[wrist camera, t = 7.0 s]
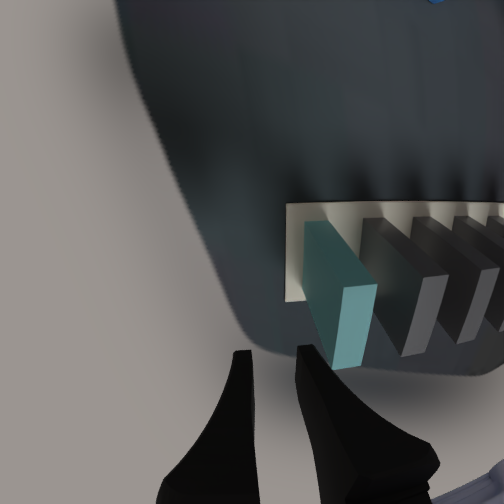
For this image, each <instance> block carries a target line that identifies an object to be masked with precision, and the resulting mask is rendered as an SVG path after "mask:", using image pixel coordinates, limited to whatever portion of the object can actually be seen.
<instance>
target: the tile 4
mask: <svg viewBox="0 0 504 504" xmlns="http://www.w3.org/2000/svg"><path fill="white" fill-rule="evenodd" d="M452 232H454V233H455V234H457V235H458V236H459V237H461V238H462V239H464V240H465V241H466V242H468V243H469V244H470V245H472V246H473V247H474V248H476V249H477V250H478V251H480V252H481V253H482V254H484V255H485V256H486V257H487V258H489V259H490V260H491V261H493V262H494V263H495V264H496V265H498V266H499V267H500V270H499V273H498V276H497V280H496V283H495V286H494V289H493V292H492V295H491V298H490V300H489V303H488V306H487V309H486V312H485V314H484V317H485V318H486V319H487V320H488V321H489V322H490V323H491V324H492V325H493V327H494V328H495V329H496V330H497V331H498V332H500V331H503V330H504V238H502V237H501V236H499V235H498V234H496V233H495V232H493V231H492V230H490V229H489V228H487V227H486V226H484V225H482V224H481V223H479V222H478V221H476V220H474V219H473V218H471V217H470V216H454V221H453V226H452Z"/></svg>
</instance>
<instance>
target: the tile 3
mask: <svg viewBox="0 0 504 504" xmlns="http://www.w3.org/2000/svg"><path fill="white" fill-rule="evenodd" d="M410 240H411V241H413V242H414V243H415V244H416V245H417V246H418V247H419V248H421V249H422V250H423V251H424V252H425V253H426V254H427V255H428V256H429V257H431V258H432V259H433V260H434V261H435V262H436V263H437V264H438V265H439V266H440V267H441V268H443V269H444V270H445V271H446V272H447V273H448V274H449V277H448V280H447V284H446V288H445V291H444V295H443V298H442V302H441V305H440V308H439V312H438V315H437V318H436V319H437V321H438V322H439V323H440V324H441V326H442V327H443V328H444V329H445V331H446V332H447V333H448V335H449V336H450V337H451V338H452V340H453V341H454V342H455V344H459V343H463V342H467V341H470V340H474V339H475V337H476V334H477V332H478V329H479V327H480V325H481V322H482V319H483V317H484V314H485V312H486V309H487V306H488V303H489V300H490V298H491V295H492V292H493V289H494V286H495V283H496V280H497V276H498V273H499V270H500V267H499V266H498V265H496V264H495V263H494V262H493V261H491V260H490V259H489V258H487V257H486V256H485V255H484V254H482V253H481V252H480V251H478V250H477V249H476V248H474V247H473V246H472V245H470V244H469V243H468V242H466V241H465V240H464V239H462V238H461V237H459V236H458V235H457V234H455V233H454V232H452V231H451V230H450V229H448V228H447V227H445V226H444V225H442V224H441V223H440V222H438V221H437V220H435V219H434V218H432V217H431V216H423V217H413V220H412V227H411V234H410Z"/></svg>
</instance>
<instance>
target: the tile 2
mask: <svg viewBox="0 0 504 504" xmlns="http://www.w3.org/2000/svg"><path fill="white" fill-rule="evenodd" d="M359 260H360V261H361V263H362V264H363V265H364V266H365V268H366V269H367V270H368V272H369V273H370V274H371V276H372V277H373V278H374V280H375V281H376V283H377V284H378V285H377V290H376V296H375V301H374V307H373V311H374V313H375V315H376V316H377V318H378V320H379V321H380V323H381V324H382V326H383V328H384V329H385V331H386V333H387V334H388V336H389V338H390V339H391V341H392V343H393V345H394V346H395V348H396V350H397V351H398V353H399V355H400V356H401V357H404V356H409V355H414V354H418V353H423V352H425V350H426V347H427V344H428V341H429V339H430V336H431V333H432V330H433V327H434V324H435V321H436V318H437V315H438V312H439V308H440V305H441V302H442V298H443V295H444V291H445V288H446V284H447V280H448V277H449V274H448V273H447V272H446V271H445V270H444V269H443V268H441V267H440V266H439V265H438V264H437V263H436V262H435V261H434V260H433V259H432V258H431V257H429V256H428V255H427V254H426V253H425V252H424V251H423V250H422V249H421V248H419V247H418V246H417V245H416V244H415V243H414V242H413V241H411V240H410V239H409V238H408V237H407V236H406V235H404V234H403V233H402V232H401V231H400V230H399V229H397V228H396V227H395V226H394V225H393V224H391V223H390V222H389V221H388V220H387V219H385V218H384V217H381V218H363V224H362V235H361V244H360V253H359Z"/></svg>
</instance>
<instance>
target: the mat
mask: <svg viewBox="0 0 504 504" xmlns="http://www.w3.org/2000/svg"><path fill="white" fill-rule="evenodd" d="M423 216H431V217H432V218H434V219H435V220H437V221H438V222H440V223H441V224H442V225H444V226H445V227H447V228H448V229H450V230H451V231H452V226H453V221H454V216H470V217H471V218H473V219H474V220H476V221H478V222H479V223H481V224H482V225H484V226H486V222H487V217H488V216H501V217H502V218H504V203H493V202H457V201H353V202H314V203H287V204H286V271H285V302H292V301H304V300H306V298H305V295H304V292H303V290H302V280H303V254H304V221H324V220H329V222H330V223H331V224H332V225H333V227H334V228H335V229H336V230H337V232H338V233H339V234H340V235H341V237H342V238H343V239H344V240H345V242H346V243H347V244H348V246H349V247H350V248H351V249H352V251H353V252H354V253H355V255H356V256H357V257H358V259H359V253H360V244H361V235H362V224H363V218H381V217H384V218H385V219H387V220H388V221H389V222H390V223H391V224H393V225H394V226H395V227H396V228H397V229H399V230H400V231H401V232H402V233H403V234H404V235H406V236H407V237H408V238H409V239H410V234H411V227H412V220H413V217H423Z"/></svg>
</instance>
